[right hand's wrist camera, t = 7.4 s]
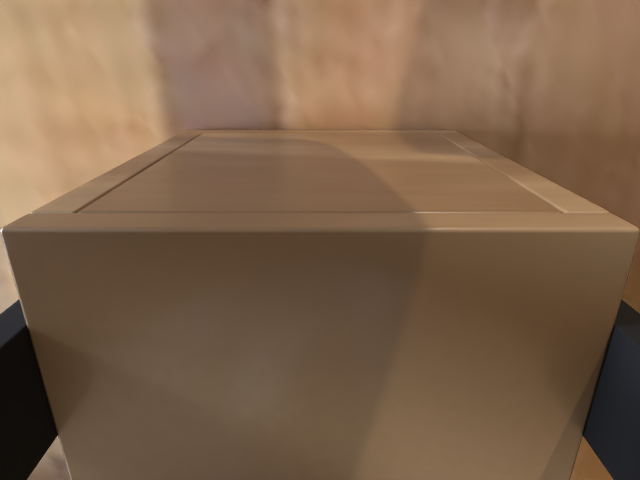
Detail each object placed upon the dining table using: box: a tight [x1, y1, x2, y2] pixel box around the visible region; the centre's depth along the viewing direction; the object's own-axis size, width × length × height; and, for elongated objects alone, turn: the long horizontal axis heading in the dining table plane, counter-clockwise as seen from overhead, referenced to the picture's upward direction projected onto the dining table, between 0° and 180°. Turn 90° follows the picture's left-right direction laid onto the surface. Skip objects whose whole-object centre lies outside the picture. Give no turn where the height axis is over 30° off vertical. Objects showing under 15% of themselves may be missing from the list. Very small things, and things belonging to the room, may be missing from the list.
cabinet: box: [0, 130, 640, 480], centre depth 17 cm, size 20×11×12 cm, turn 0°
